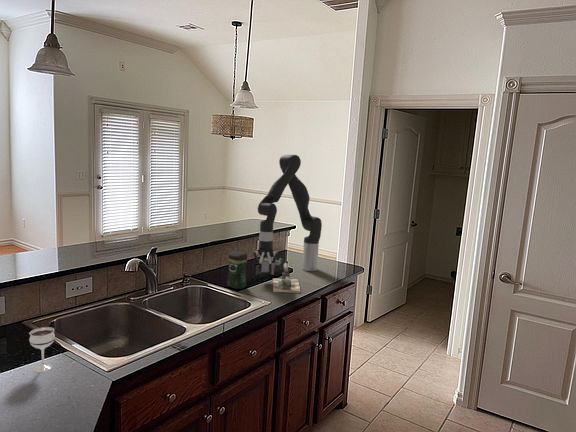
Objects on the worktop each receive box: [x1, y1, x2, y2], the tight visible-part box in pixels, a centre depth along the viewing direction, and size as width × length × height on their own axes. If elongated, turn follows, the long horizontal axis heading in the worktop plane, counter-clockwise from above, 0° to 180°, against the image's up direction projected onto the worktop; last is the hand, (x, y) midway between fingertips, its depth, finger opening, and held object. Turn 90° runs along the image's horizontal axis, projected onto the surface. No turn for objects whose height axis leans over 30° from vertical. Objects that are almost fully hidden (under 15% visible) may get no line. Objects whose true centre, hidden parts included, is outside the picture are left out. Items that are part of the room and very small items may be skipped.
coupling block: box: [261, 258, 270, 273], centre depth 228 cm, size 4×4×7 cm
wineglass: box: [28, 326, 56, 373], centre depth 128 cm, size 7×7×12 cm
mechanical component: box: [264, 256, 283, 276], centre depth 242 cm, size 3×10×10 cm, turn 78°
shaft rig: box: [272, 262, 301, 294], centre depth 222 cm, size 29×14×9 cm, turn 3°
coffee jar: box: [226, 250, 248, 290], centre depth 216 cm, size 10×8×19 cm
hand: (265, 269), depth 228 cm, fingers closed on coupling block, 4 cm apart
